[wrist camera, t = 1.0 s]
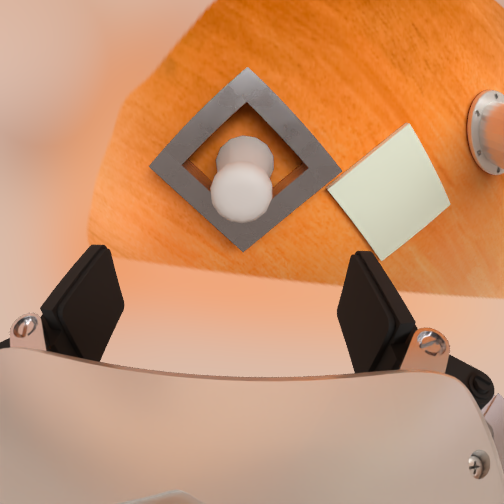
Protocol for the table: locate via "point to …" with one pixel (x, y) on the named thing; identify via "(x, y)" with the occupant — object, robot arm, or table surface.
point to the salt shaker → (242, 179)
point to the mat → (391, 192)
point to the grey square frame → (283, 194)
